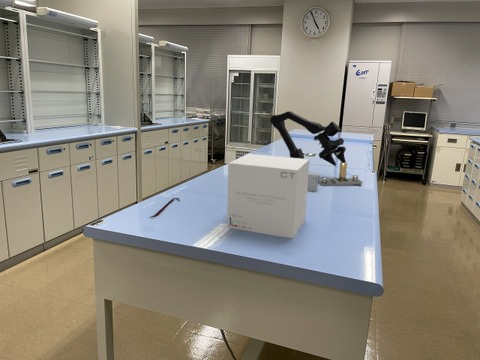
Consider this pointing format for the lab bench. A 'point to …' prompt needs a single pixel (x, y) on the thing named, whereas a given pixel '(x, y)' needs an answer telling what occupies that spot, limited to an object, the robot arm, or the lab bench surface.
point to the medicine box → (312, 182)
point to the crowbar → (164, 207)
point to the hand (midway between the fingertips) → (340, 164)
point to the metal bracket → (336, 182)
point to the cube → (267, 194)
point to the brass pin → (342, 171)
